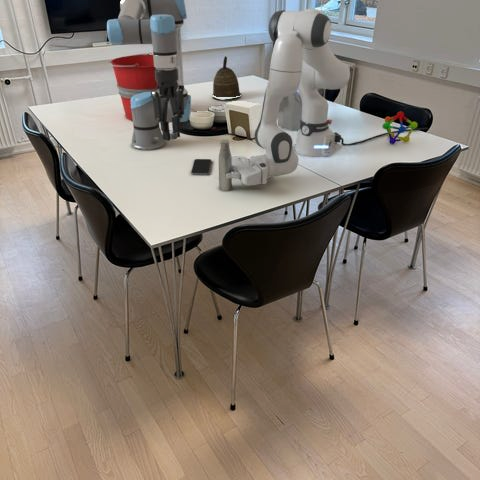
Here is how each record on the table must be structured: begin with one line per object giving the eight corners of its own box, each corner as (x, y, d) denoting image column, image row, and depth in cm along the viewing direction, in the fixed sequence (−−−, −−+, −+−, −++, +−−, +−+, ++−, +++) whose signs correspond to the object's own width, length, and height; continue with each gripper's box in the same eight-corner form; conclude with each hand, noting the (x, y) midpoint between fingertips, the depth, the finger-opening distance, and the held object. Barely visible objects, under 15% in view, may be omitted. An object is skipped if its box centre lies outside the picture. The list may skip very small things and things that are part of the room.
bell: (227, 105, 294) (202, 96, 282) (238, 66, 289) (213, 55, 277) (243, 108, 280) (217, 98, 268) (255, 66, 275) (229, 55, 263)
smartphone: (190, 173, 177) (194, 158, 190) (190, 174, 178) (194, 160, 190) (208, 173, 177) (211, 159, 190) (209, 174, 178) (211, 160, 190)
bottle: (218, 185, 169) (217, 139, 159) (231, 185, 170) (231, 138, 160) (219, 191, 165) (218, 143, 155) (232, 190, 166) (232, 143, 156)
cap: (171, 140, 153) (171, 134, 152) (162, 138, 155) (162, 132, 154) (180, 137, 156) (180, 131, 155) (171, 135, 158) (171, 129, 157)
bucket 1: (124, 106, 262) (117, 51, 246) (183, 106, 262) (180, 52, 246) (108, 124, 233) (99, 63, 217) (174, 124, 232) (170, 64, 216)
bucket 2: (296, 138, 215) (301, 78, 201) (255, 124, 234) (256, 68, 219) (335, 125, 232) (342, 70, 217) (294, 113, 251) (297, 61, 236)
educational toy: (377, 146, 209) (379, 114, 202) (384, 138, 219) (386, 107, 211) (411, 149, 202) (415, 116, 195) (417, 141, 212) (420, 109, 204)
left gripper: (154, 73, 136) (161, 146, 148) (192, 65, 147) (196, 134, 160) (138, 70, 140) (145, 142, 152) (176, 63, 151) (181, 130, 164)
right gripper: (247, 150, 174) (213, 154, 170) (268, 169, 158) (232, 175, 154) (246, 165, 178) (214, 170, 173) (268, 185, 162) (232, 191, 157)
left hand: (171, 137), depth 156 cm, fingers closed on cap, 4 cm apart
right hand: (223, 172), depth 164 cm, fingers closed on bottle, 5 cm apart
